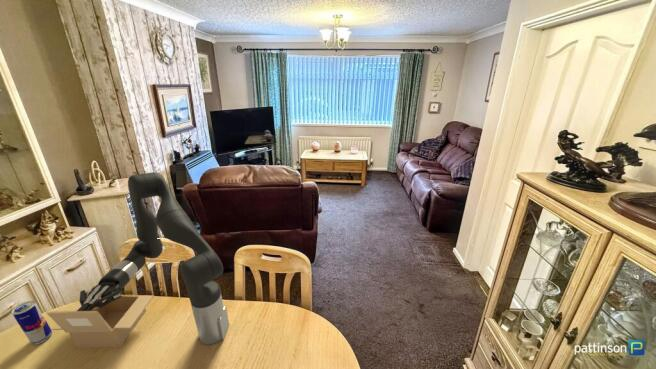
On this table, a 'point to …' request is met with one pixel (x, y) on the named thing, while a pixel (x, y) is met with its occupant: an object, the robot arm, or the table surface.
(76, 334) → the carton
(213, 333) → the robot arm
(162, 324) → the table surface
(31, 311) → the beverage can
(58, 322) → the lid flap
